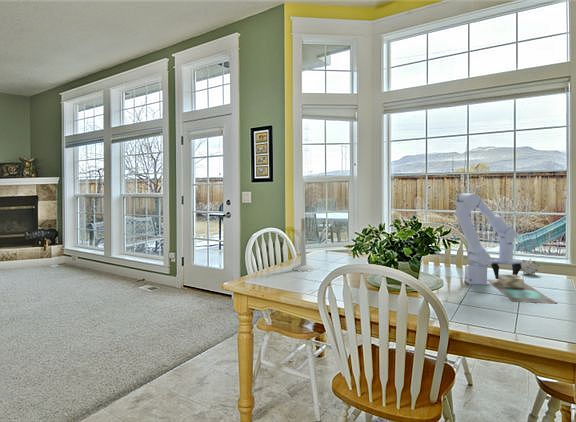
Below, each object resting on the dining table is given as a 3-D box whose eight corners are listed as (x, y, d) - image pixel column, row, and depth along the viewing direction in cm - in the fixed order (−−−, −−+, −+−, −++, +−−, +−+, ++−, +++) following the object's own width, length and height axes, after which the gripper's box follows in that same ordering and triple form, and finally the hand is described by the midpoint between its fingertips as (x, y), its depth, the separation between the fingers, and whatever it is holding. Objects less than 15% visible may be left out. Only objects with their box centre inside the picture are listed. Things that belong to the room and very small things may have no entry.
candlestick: (291, 267, 216) (290, 217, 214) (312, 266, 218) (312, 216, 215) (294, 272, 204) (293, 219, 201) (316, 271, 205) (316, 218, 203)
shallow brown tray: (513, 301, 147) (513, 301, 147) (485, 279, 181) (485, 279, 181) (557, 303, 144) (557, 303, 144) (521, 280, 177) (521, 280, 177)
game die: (533, 282, 188) (545, 269, 182) (516, 275, 189) (527, 263, 183) (530, 270, 195) (541, 258, 188) (514, 264, 196) (525, 252, 190)
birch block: (504, 287, 167) (504, 278, 167) (498, 282, 175) (498, 274, 175) (523, 287, 165) (523, 279, 165) (516, 283, 173) (516, 274, 173)
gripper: (492, 252, 173) (492, 280, 174) (526, 253, 170) (525, 281, 171) (487, 250, 180) (487, 276, 181) (520, 250, 177) (519, 277, 178)
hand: (505, 279), depth 176 cm, fingers open, 7 cm apart
